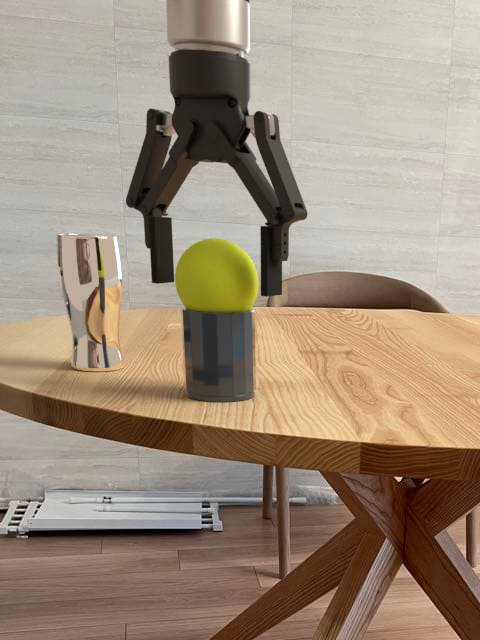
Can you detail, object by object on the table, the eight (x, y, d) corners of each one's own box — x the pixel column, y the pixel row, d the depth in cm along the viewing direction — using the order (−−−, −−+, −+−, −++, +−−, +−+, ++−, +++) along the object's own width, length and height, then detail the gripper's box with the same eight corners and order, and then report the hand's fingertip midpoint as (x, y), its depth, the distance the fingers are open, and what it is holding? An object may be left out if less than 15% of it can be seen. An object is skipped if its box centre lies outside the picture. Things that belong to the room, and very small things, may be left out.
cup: (171, 395, 88) (166, 308, 84) (213, 384, 94) (210, 302, 90) (228, 405, 85) (226, 315, 81) (268, 393, 91) (267, 309, 88)
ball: (160, 324, 84) (154, 236, 81) (210, 316, 92) (206, 236, 89) (228, 331, 81) (224, 240, 78) (275, 322, 89) (273, 239, 85)
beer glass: (103, 374, 96) (91, 237, 90) (54, 368, 98) (40, 233, 92) (140, 365, 102) (131, 236, 96) (94, 359, 104) (83, 233, 98)
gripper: (345, 60, 76) (339, 298, 84) (132, 61, 85) (145, 275, 93) (303, 44, 70) (300, 304, 78) (78, 47, 79) (96, 279, 87)
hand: (215, 289), depth 85 cm, fingers open, 13 cm apart
